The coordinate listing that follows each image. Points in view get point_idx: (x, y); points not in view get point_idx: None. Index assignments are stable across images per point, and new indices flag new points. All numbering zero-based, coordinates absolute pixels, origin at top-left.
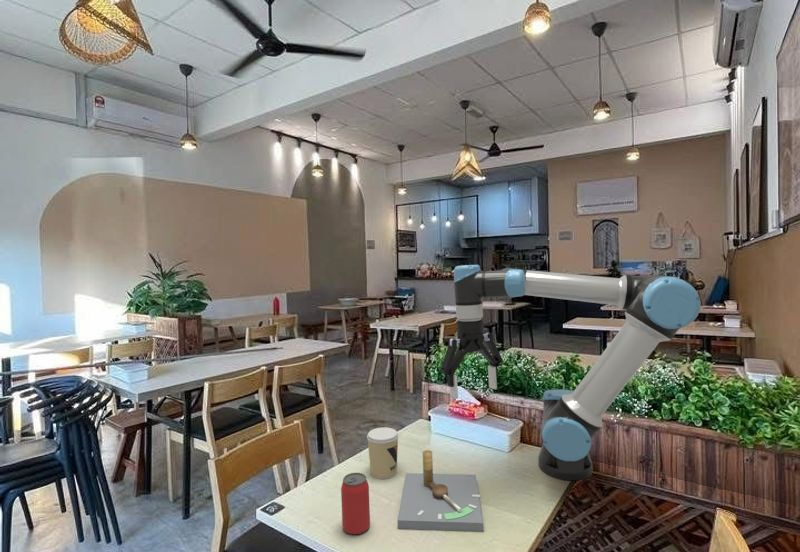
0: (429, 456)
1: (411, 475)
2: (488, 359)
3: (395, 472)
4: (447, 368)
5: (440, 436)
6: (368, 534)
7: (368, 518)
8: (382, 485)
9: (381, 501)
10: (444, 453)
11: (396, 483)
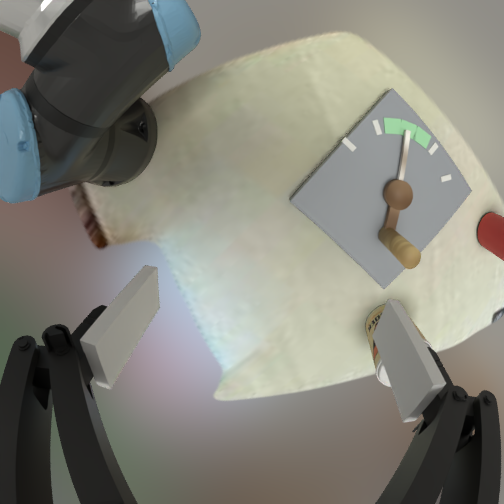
0: (414, 246)
1: (383, 277)
2: (94, 416)
3: (380, 308)
4: (492, 417)
5: (221, 356)
6: (487, 206)
7: (492, 218)
8: (413, 291)
9: (441, 256)
10: (259, 312)
11: (396, 283)
